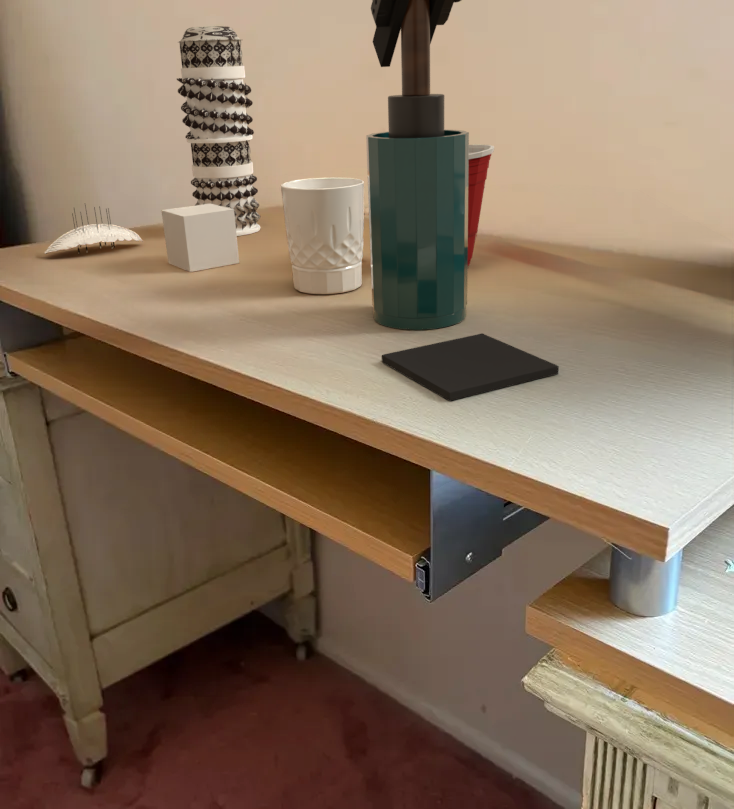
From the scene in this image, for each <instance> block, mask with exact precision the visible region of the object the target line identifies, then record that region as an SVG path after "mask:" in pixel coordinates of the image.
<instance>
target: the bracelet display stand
mask: <svg viewBox="0 0 734 809" xmlns="http://www.w3.org/2000/svg"><path fill="white" fill-rule="evenodd" d="M178 43H179V52H180V60H181V68H180V74H181V77H178V78H176V81H177V82H179V83H181V86H180V87H179V88H178V89H177V93H178V94H179V95H180V96H182V97H183V98H186V100H185V101H184V102H183V103H182V105H181V106H180V110H181V111H182V112H183V113H184V114H186V115H185V116H184V117H183V118H182V121H181V122H182V123H183V124H184V125H185V126H186V127H187V128H189V131H188V132H187V133H186V135H185V139H186V142H187V143H188V144H190V149H191V159H192V164H191V170H192V177H194V178H193V179H191V180H190V184H191V185H192V186H193V187H195V188H196V189H195V190H194V191H193V192H192V194H191V196H192V197H193V198H195V199H196V200H197V201H196V203H195V204H194V206H196V205H203V204H214V205H218V206H223V207H227V208H231V209H234V214H235V224H236V234H237V237H240V236H246V235H251V234H255V233H258V232H259V231H260V230H261V225H260V224H258V222H259V220H260V219H261V215H260V213H258V209H259V208H260V203H259V201H257V199H256V198H255V195H257V194H258V192H259V190H258V188H256V187H255V186H254V184H255V183H256V182H257V181H258V177H257V176H256V175H254V163H253V161H252V159H251V147H250V141H251V140H253V139H254V138H253V137H254V136H253V135H254V134H255V131H254V130H253V128H251V127H249V124H251V123H252V122H253V120H254V119H253V117H252V116H251V115H249V114H248V113H247V109H249V108H250V107H251V106H252V105H253V103H254V102H253V101H252V100H251V99H250V98H248V95H249V94H251V93H252V88H251V87H250V85H248V84H247V83H246V82H245V83H244V79H245V78H246V67H245V65H244V64H243V60H242V58H243V51H242V48H241V47H242V39H241V38H240V37H239V36H238V34H237V32H236V31H235V30H234V28H233V27H230V26H226V25H225V26H224V25H221V26H219V25H216V26H215V25H214V26H194V27H193V26H192V27H189V28H187V29H185V31H184V32H183V35H182V37H181V39H180V41H178Z"/></svg>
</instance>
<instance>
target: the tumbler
mask: <svg viewBox="0 0 734 809" xmlns="http://www.w3.org/2000/svg"><path fill="white" fill-rule="evenodd" d="M365 140H366V169H367V196H368V197H367V198H368V224H369V225H368V226H369V228H368V229H369V252H370V253H369V255H370V278H371V280H370V281H371V305H372V318H373V320H374V321H375V322H376V323H378V324H379V325H382V326H384V327H387V328H392V329H399V330H408V331H410V330H411V331H421V330H422V331H424V330H435V329H437V330H438V329H442V328H447V327H451V326H454V325H457V324H459V323H462V322H463V321H465V319H466V318H467V305H468V271H469V270H468V269H469V268H468V267H469V266H468V168H469V145H470V132H469V131H466V130H459V129H444V136H440V137H424V138H389V131H380V132H374V133H369V134H367V135H366V136H365Z"/></svg>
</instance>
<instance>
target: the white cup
mask: <svg viewBox="0 0 734 809" xmlns="http://www.w3.org/2000/svg"><path fill="white" fill-rule="evenodd" d="M280 190H281V198H282V208H283V217H284V224H285V234H286V242H287V248H288V256H289V260H290V263H291V272H292V280H293V288H294V289H295V290H296V291H298V292H300V293H304V294H310V295H334V294H343V293H347V292H352V291H355V290H357V289H359V288H360V287H361V286H362V283H363V281H362V280H363V279H362V278H363V274H362V270H363V269H362V267H363V261H362V260H363V258H364V240H365V239H364V231H365V181H364V180H363V179H361V178H356V177H345V176H344V177H343V176H342V177H341V176H339V177H338V176H334V177H333V176H329V177H328V176H327V177H310V178H300V179H293V180H289V181H286V182H283V183H281V184H280Z"/></svg>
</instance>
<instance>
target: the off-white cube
mask: <svg viewBox="0 0 734 809" xmlns="http://www.w3.org/2000/svg"><path fill="white" fill-rule="evenodd" d="M160 212H161V217H162V225H163V226H162V227H163V234H164V240H165V248H166V249H165V250H166V255H167V256H166V257H167V263H168V264H169V265H172V266H174V267H176V268H180V269H182V270H184V271H186V272H189V273H192V272H198V271H203V270H208V269H214V268H220V267H225V266H231V265H237V264H240V258H239V257H240V256H239V254H240V253H239V246H238V244H239V243H238V236H237V234H236V224H235V214H234V209H231V208H227V207H223V206H218V205H214V204H203V205H196V206H195V205H189V206H181V207H175V208H167V209H162V210H161V211H160Z"/></svg>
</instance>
